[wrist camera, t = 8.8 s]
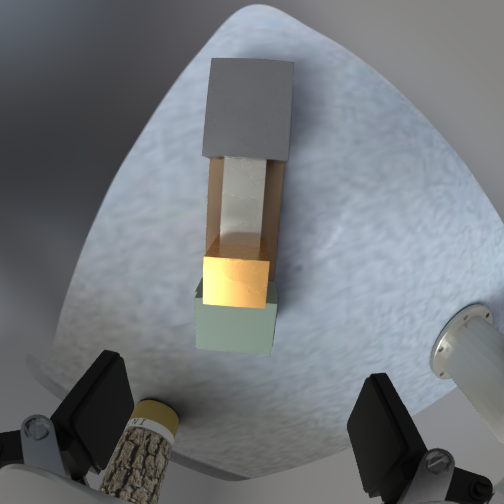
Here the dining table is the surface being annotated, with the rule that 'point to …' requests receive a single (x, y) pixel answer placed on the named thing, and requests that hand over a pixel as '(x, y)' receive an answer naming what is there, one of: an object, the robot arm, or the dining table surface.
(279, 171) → the board
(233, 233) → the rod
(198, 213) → the dining table surface
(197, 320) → the socket
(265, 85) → the sleeve
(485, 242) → the dining table surface
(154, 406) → the brown bark cylinder
